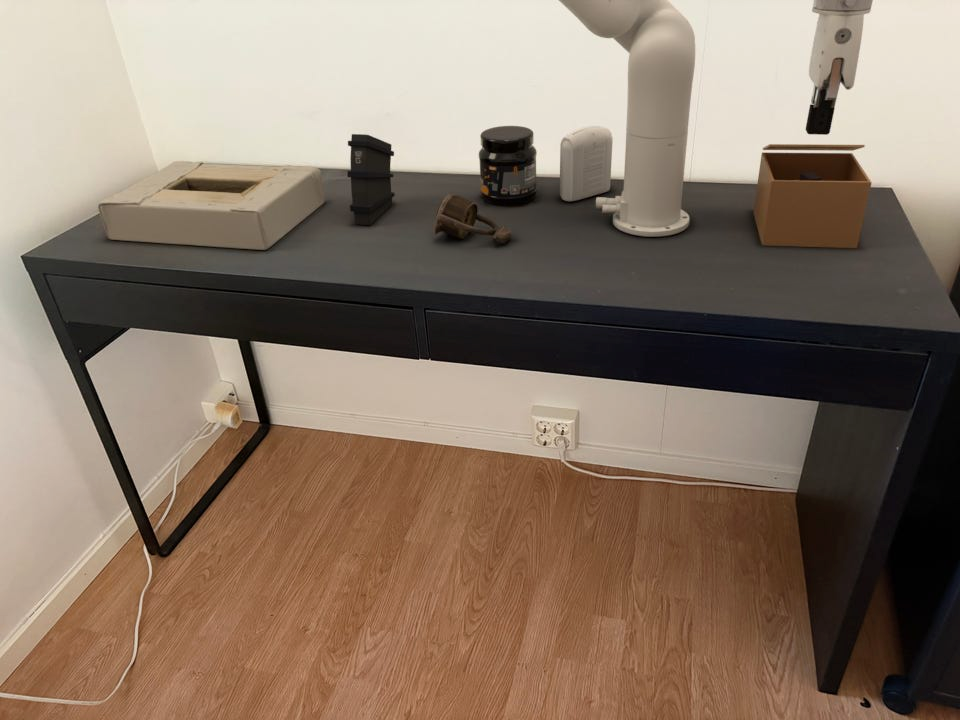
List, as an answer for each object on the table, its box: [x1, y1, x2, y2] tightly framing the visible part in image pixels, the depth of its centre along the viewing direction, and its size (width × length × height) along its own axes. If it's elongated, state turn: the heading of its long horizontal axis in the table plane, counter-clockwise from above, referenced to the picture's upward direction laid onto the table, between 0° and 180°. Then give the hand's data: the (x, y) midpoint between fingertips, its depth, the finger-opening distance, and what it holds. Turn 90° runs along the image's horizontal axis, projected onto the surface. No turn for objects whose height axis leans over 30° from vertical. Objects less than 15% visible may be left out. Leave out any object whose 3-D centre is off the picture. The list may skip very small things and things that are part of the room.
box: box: [97, 160, 326, 251], centre depth 140 cm, size 23×8×32 cm
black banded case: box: [346, 133, 396, 226], centre depth 138 cm, size 4×13×15 cm, turn 163°
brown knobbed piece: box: [432, 193, 512, 245], centre depth 127 cm, size 7×13×10 cm
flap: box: [762, 143, 866, 152], centre depth 121 cm, size 14×7×1 cm, turn 79°
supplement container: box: [478, 125, 538, 206], centre depth 141 cm, size 10×10×12 cm
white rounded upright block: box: [559, 125, 613, 202], centre depth 140 cm, size 10×4×12 cm, turn 123°
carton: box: [752, 152, 873, 249], centre depth 122 cm, size 14×14×10 cm
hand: (817, 132), depth 117 cm, fingers closed
